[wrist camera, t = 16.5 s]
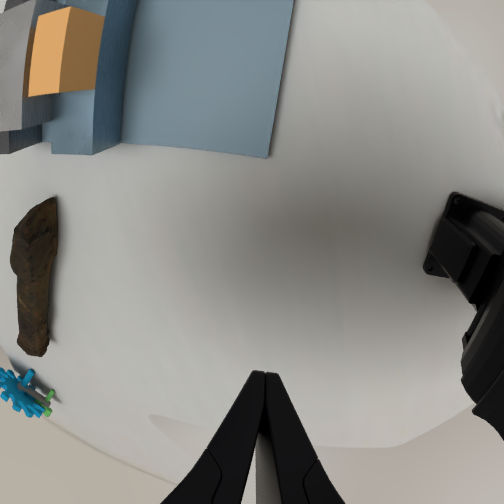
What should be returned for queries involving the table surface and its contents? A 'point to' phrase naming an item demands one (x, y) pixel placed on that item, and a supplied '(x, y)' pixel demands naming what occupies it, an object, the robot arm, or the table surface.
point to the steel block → (21, 66)
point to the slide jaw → (83, 72)
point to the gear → (24, 394)
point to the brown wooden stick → (34, 274)
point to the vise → (196, 76)
